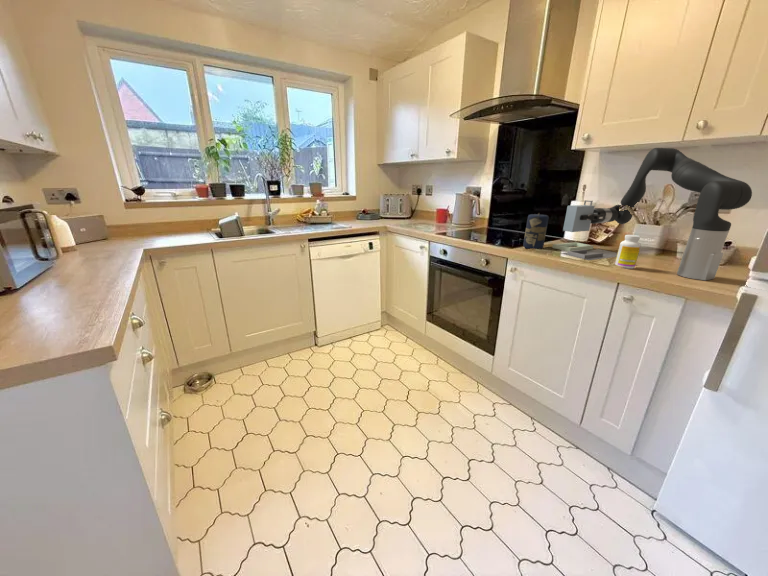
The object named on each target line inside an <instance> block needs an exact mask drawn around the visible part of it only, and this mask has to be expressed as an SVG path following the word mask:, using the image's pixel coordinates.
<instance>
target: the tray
mask: <svg viewBox="0 0 768 576" xmlns="http://www.w3.org/2000/svg"><path fill="white" fill-rule="evenodd" d="M552 249H557V250H561V251H564V252H567V251H574V250H584V249H586V250H594V245H592V244H588V243H587V244H586V243H582V242H575V241H574V242H565V243H554V244H552Z"/></svg>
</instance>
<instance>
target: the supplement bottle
mask: <svg viewBox="0 0 768 576" xmlns="http://www.w3.org/2000/svg"><path fill="white" fill-rule="evenodd" d="M640 238H641V236H640V235H638V234H637V235H636V234H625V235H624V240H621V242H620V243H619V247H618V250H617V253H618V254H617V257H615V262H614V265H616V266H617V267H621V268H622V269H629V270H631V269H632V270H633V269H635V267H636V266H637V265H636V264H637V262H638V261H637V260H638V258H639V253H640V250H641V245H642V244H641V243H640V242H639V240H640Z"/></svg>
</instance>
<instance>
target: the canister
mask: <svg viewBox="0 0 768 576" xmlns="http://www.w3.org/2000/svg"><path fill="white" fill-rule="evenodd" d="M549 219H550V217H549V215H547V214H540V212H538V213H537V214H536V213H534V214H533V213H531V214H528V216H527V220H526V227H525V230H524V231H525V232H524V239H523V243H522V245H523V247H524V249H530V250H532V249H533V250H534V249H535V250H537V249H539V250H540V249H543V248H544V244H545V240H546V235H547V229H548V223H549Z"/></svg>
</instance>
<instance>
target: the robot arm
mask: <svg viewBox="0 0 768 576" xmlns="http://www.w3.org/2000/svg"><path fill="white" fill-rule="evenodd" d="M651 171H660V172H670V173H671V181H673V183H675V184H676V185H678V186H679V187H681V188H682V189H685V190H687V191H691V192H695V193H698V194H699V195H698V199H697V202H696V206H695V211H694V214H693V218H692V220H693V221H692V222H693V224H692V227H691V230H690V234H689V236H688V238H687V239H688V240H687V241H686V242H687V243H686V245H685V247H684V248H685V249H684V251H683V254H682V257H681V260H680V263H679V266H678V269H677V272H676V275H678V276H680V277H684V278H689V279H691V280H692V279H693V280H699V281H709V280H714V279H715V277H716V276H717V275H716V274H717V272H718V271H719V270H718V269H719V266H720V265H721V261H722V259H723V257H724V252H722V251H723V248H724V245H725V243H726V240H727V238H728V236H729V233H730V229H731V227H732V223H731V222H730V221H729V220H726V219H724V218H721V217H720V215H719V211H720V210H723V211H725V210H728V211H729V210H737V209H739V208H742V207H744V206H746V205H747V204H748V203H749V202H750V201H751V198H752V196H753V192H752V187H751V186H750V185H749V183H747V182H745V181H742V180H739V179H736V178H732V177H730V176H727V175H724V174H722V173H720V172H718V171H716V170H714V169H713V168H710V167H709V166H707V165H706V164H704V163H702V162H699V161H697V160H695V159H693V158H689V157H688V156H687V155H685V154H684V153H683V152H682V151H681V150H679V149H677V148H674V147H654V148H652V149H650V150H649V151H648V153H647V154H646V155H645V157H644V159H643V160H642V163H641V165H640V166H639V168H638V170H637V172H636V174H635V177H634V178H633V179H634V180H632V183H631V185H630V186H629V188H628V190H627V192H625V194H624V196H623V197H622V199H621V200H620V204H616V205H614V206H611V207H596V208H595V207H594V211H593V213H591V214H589V215H581V216H580V220H588V221H591V225H594V224H604V223H610V222H614V221H615V222H616V223H617V224H619V225H625V224H627V223H628V222H630V221H631V220H632V219H633V217H634V215H633V216H632V215H631V214H630V212H629V211H628V210H624V211H619V207H620V206H621V205H628V206H630V207H634V205H635V204H636V203H637V202H639V203H640V201H642V199H643V197H644V196H645V194H646V190H647V183H646V181H647V180H646V179H647V176H648V174H649V173H650V172H651ZM592 214H593V215H592Z"/></svg>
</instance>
